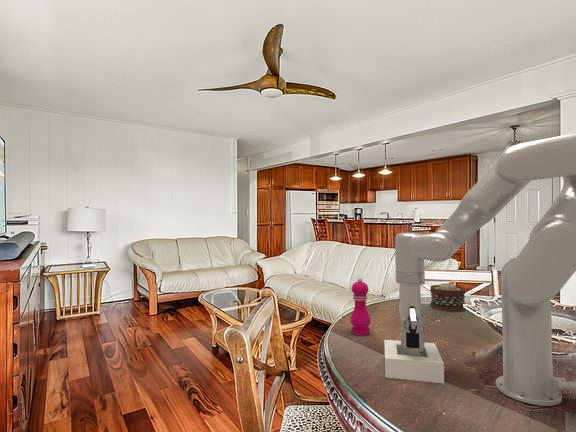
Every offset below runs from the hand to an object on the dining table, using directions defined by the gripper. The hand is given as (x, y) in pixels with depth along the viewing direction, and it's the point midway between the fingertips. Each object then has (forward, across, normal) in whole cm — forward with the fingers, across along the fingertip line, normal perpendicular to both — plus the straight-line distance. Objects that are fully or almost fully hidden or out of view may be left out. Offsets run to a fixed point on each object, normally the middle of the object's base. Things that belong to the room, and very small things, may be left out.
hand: (411, 341), depth 92 cm
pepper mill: (+8, -27, -15) cm, 32 cm away
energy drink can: (+6, 0, 0) cm, 6 cm away
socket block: (+7, 0, 0) cm, 7 cm away
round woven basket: (+8, -70, +22) cm, 74 cm away
